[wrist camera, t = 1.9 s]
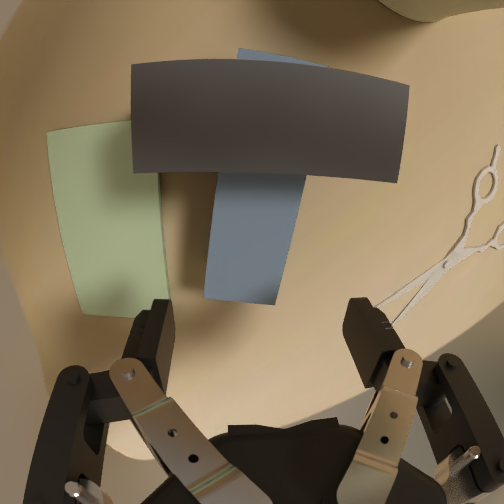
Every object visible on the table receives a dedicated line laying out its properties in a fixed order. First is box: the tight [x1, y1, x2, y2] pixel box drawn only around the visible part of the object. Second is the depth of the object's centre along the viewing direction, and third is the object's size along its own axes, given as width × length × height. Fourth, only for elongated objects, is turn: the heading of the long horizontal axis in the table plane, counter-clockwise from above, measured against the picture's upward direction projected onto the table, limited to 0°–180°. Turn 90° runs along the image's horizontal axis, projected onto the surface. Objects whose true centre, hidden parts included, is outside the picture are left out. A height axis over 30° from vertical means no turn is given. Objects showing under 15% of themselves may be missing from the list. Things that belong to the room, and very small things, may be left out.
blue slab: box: [203, 48, 329, 305], centre depth 17 cm, size 14×4×4 cm, turn 170°
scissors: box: [375, 145, 504, 326], centre depth 23 cm, size 11×1×20 cm
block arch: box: [131, 59, 409, 183], centre depth 13 cm, size 4×10×8 cm, turn 87°
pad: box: [47, 120, 171, 318], centre depth 20 cm, size 15×8×1 cm, turn 177°
